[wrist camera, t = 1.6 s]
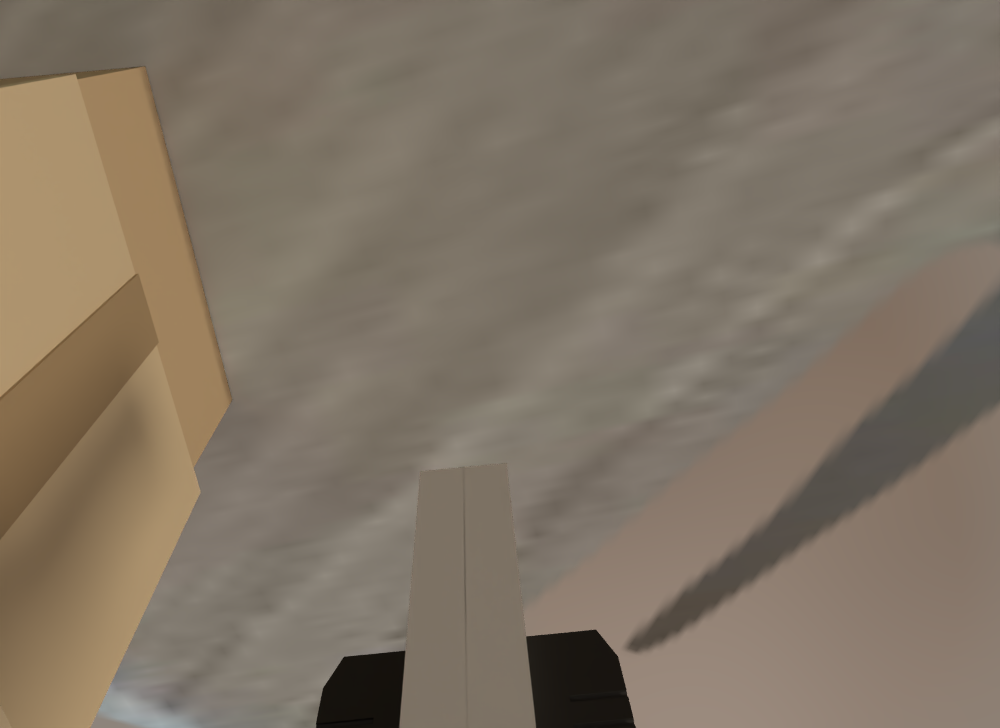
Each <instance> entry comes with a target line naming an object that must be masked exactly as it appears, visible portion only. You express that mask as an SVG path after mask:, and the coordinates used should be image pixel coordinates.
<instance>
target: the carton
mask: <svg viewBox="0 0 1000 728" xmlns="http://www.w3.org/2000/svg"><path fill="white" fill-rule="evenodd" d="M72 74H76V77H77V80H78V83H79V87H80V90H81V93H82V97H83V100H84V104H85V107H86V110H87V114H88V117H89V120H90V124H91V127H92V130H93V134H94V137H95V140H96V144H97V147H98V150H99V154H100V157H101V160H102V164H103V167H104V170H105V174H106V177H107V181H108V184H109V187H110V191H111V194H112V197H113V201H114V204H115V207H116V211H117V214H118V217H119V221H120V224H121V227H122V231H123V234H124V237H125V241H126V244H127V247H128V251H129V254H130V258H131V261H132V264H133V268H134V271H135V274H139V277H140V280H141V283H142V287H143V290H144V294H145V297H146V300H147V304H148V307H149V310H150V314H151V317H152V321H153V324H154V327H155V331H156V334H157V337H158V341H159V343H158V344H157V348H158V351H159V355H160V358H161V361H162V365H163V368H164V371H165V375H166V378H167V381H168V385H169V388H170V391H171V395H172V398H173V401H174V405H175V408H176V412H177V415H178V418H179V422H180V425H181V428H182V432H183V435H184V438H185V442H186V445H187V448H188V452H189V455H190V458H191V462H192V465H193V468H194V466H195V464H196V463H197V461H198V459H199V457H200V456H201V454H202V452H203V450H204V449H205V447H206V445H207V443H208V441H209V440H210V438H211V436H212V434H213V433H214V431H215V429H216V427H217V426H218V424H219V422H220V420H221V419H222V417H223V415H224V413H225V412H226V410H227V408H228V406H229V405H230V403H231V401H232V397H231V394H230V390H229V386H228V382H227V378H226V374H225V371H224V367H223V363H222V359H221V355H220V351H219V348H218V344H217V340H216V336H215V332H214V328H213V325H212V321H211V317H210V313H209V309H208V305H207V302H206V298H205V294H204V290H203V286H202V282H201V279H200V275H199V271H198V267H197V263H196V259H195V256H194V252H193V248H192V244H191V240H190V236H189V233H188V229H187V225H186V221H185V217H184V213H183V210H182V206H181V202H180V198H179V194H178V190H177V187H176V183H175V179H174V175H173V171H172V167H171V164H170V160H169V156H168V152H167V148H166V144H165V141H164V137H163V133H162V129H161V125H160V121H159V118H158V114H157V110H156V106H155V102H154V98H153V95H152V91H151V87H150V83H149V79H148V75H147V72H146V68H145V66H144V67H133V68H121V69H110V70H99V71H87V72H76V73H64V74H53V75H42V76H30V77H19V78H8V79H0V86H2V85H7V84H13V83H18V82H24V81H30V80H35V79H41V78H46V77H52V76H61V75H72Z"/></svg>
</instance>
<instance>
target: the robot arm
mask: <svg viewBox="0 0 1000 728" xmlns="http://www.w3.org/2000/svg"><path fill="white" fill-rule="evenodd" d="M316 728H636V727H635V725H634V719H633V714H632V710H631V706H630V702H629V698H628V697H627V692H626V687H625V683H624V679H623V675H622V671H621V667H620V663H619V659H618V656H617V655H616V654H615V652H614V651H613V650H612V649H611V648H610V646H609V645H608V644H607V643H606V641H605V640H604V639H603V638H602V637H601V635H600V634H599V633H598V632H597V630H589V631H578V632H569V633H558V634H548V635H538V636H527V637H526V632H525V623H524V614H523V605H522V596H521V587H520V578H519V569H518V560H517V551H516V542H515V533H514V524H513V515H512V506H511V497H510V488H509V479H508V470H507V463H501V464H491V465H480V466H470V467H459V468H449V469H438V470H428V471H420V481H419V493H418V505H417V517H416V530H415V542H414V554H413V566H412V579H411V591H410V603H409V615H408V628H407V640H406V651H399V652H389V653H378V654H368V655H358V656H348V657H344V658H343V659H342V661H341V662H340V664H339V665H338V667H337V668H336V670H335V671H334V673H333V674H332V676H331V677H330V679H329V680H328V682H327V683H326V685H325V686H324V688H323V691H322V696H321V701H320V706H319V711H318V716H317V721H316Z"/></svg>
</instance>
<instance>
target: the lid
mask: <svg viewBox="0 0 1000 728" xmlns="http://www.w3.org/2000/svg"><path fill="white" fill-rule="evenodd" d="M158 343H159V341H158V337H157V334H156V331H155V327H154V324H153V321H152V317H151V314H150V310H149V307H148V304H147V300H146V297H145V294H144V290H143V287H142V283H141V280H140V277H139V274H135V271H134V268H133V264H132V261H131V258H130V254H129V251H128V247H127V244H126V241H125V237H124V234H123V231H122V227H121V224H120V221H119V217H118V214H117V211H116V207H115V204H114V201H113V197H112V194H111V191H110V187H109V184H108V181H107V177H106V174H105V170H104V167H103V164H102V160H101V157H100V154H99V150H98V147H97V144H96V140H95V137H94V134H93V130H92V127H91V124H90V120H89V117H88V114H87V110H86V107H85V104H84V100H83V97H82V93H81V90H80V87H79V83H78V80H77V77H76V74H72V75H61V76H52V77H46V78H41V79H35V80H30V81H24V82H18V83H13V84H7V85H2V86H0V728H90V727H91V725H92V723H93V721H94V719H95V716H96V714H97V712H98V710H99V708H100V706H101V704H102V701H103V699H104V697H105V695H106V693H107V691H108V689H109V686H110V684H111V682H112V680H113V678H114V676H115V674H116V672H117V669H118V667H119V665H120V663H121V661H122V659H123V657H124V654H125V652H126V650H127V648H128V646H129V644H130V642H131V639H132V637H133V635H134V633H135V631H136V629H137V627H138V625H139V622H140V620H141V618H142V616H143V614H144V612H145V610H146V607H147V605H148V603H149V601H150V599H151V597H152V595H153V592H154V590H155V588H156V586H157V584H158V582H159V580H160V578H161V575H162V573H163V571H164V569H165V567H166V565H167V563H168V560H169V558H170V556H171V554H172V552H173V550H174V548H175V545H176V543H177V541H178V539H179V537H180V535H181V533H182V531H183V528H184V526H185V524H186V522H187V520H188V518H189V516H190V513H191V511H192V509H193V507H194V505H195V503H196V501H197V498H198V496H199V494H200V489H199V485H198V482H197V478H196V475H195V472H194V468H193V465H192V462H191V458H190V455H189V452H188V448H187V445H186V442H185V438H184V435H183V432H182V428H181V425H180V422H179V418H178V415H177V412H176V408H175V405H174V401H173V398H172V395H171V391H170V388H169V385H168V381H167V378H166V375H165V371H164V368H163V365H162V361H161V358H160V355H159V351H158V348H157V344H158Z"/></svg>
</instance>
